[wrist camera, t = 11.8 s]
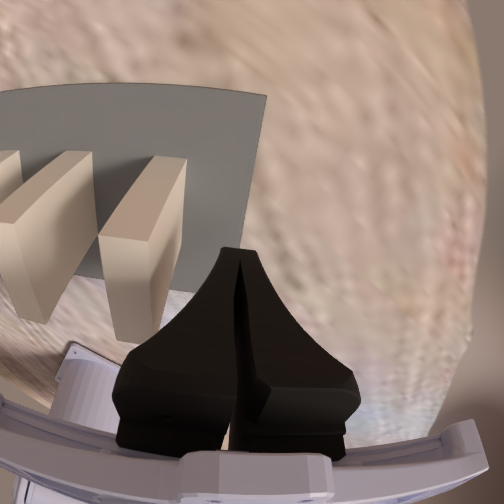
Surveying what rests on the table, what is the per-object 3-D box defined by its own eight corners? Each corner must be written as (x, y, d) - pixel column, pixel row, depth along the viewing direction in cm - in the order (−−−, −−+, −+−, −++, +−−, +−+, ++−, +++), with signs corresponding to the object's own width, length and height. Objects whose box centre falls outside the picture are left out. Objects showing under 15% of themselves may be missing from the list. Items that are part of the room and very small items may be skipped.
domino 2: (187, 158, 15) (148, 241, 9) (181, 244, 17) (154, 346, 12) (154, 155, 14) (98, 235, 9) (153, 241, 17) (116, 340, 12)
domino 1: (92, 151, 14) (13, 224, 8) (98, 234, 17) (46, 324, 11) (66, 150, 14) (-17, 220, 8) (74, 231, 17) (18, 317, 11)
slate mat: (266, 95, 13) (266, 96, 13) (231, 292, 20) (230, 297, 20) (-97, 116, 10) (-100, 117, 10) (-69, 241, 17) (-71, 244, 17)
